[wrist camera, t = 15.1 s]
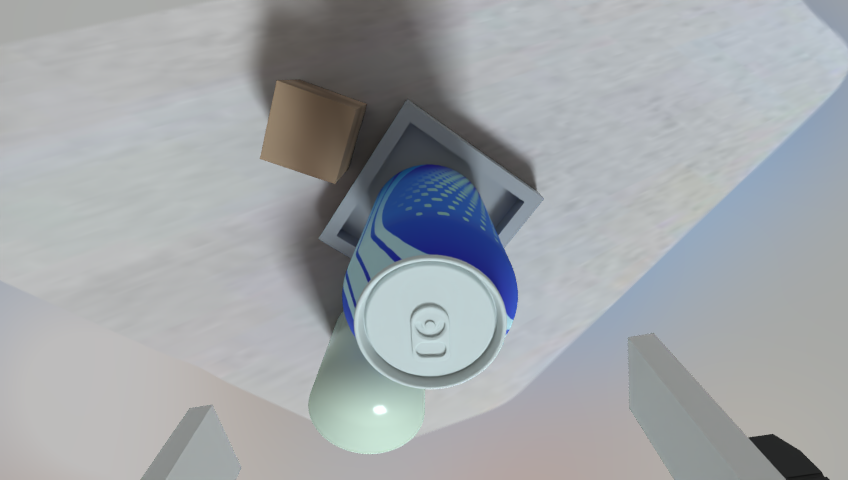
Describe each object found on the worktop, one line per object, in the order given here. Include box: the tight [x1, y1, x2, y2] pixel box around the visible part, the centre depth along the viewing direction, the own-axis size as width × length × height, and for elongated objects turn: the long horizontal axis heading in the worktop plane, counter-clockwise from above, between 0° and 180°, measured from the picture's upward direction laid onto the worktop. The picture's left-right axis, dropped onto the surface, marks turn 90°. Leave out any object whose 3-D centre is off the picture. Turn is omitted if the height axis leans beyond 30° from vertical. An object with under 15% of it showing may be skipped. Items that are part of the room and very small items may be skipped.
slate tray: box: [319, 99, 544, 259], centre depth 33 cm, size 12×12×2 cm
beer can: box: [342, 164, 518, 389], centre depth 26 cm, size 8×8×16 cm
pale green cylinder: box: [308, 311, 425, 454], centre depth 34 cm, size 8×8×9 cm
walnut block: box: [260, 80, 367, 184], centre depth 29 cm, size 5×5×5 cm
